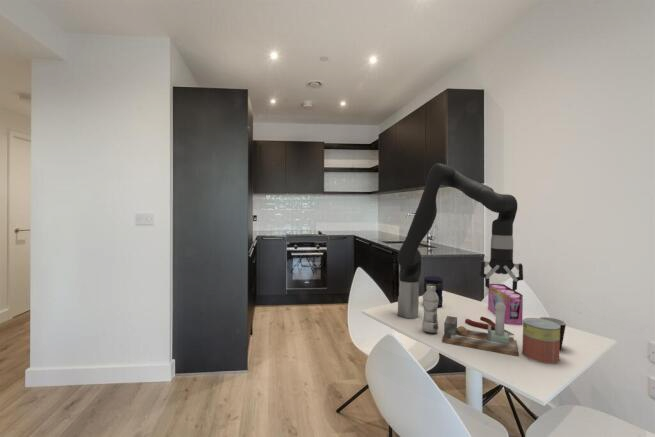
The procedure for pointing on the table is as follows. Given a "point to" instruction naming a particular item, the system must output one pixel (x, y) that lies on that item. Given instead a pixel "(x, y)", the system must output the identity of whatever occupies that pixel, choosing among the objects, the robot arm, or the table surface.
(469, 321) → the pliers
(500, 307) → the grey post on base
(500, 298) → the gum box
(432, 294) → the plastic bottle
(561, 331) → the coffee mug
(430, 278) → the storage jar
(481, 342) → the base
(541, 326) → the canned food
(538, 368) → the table surface
